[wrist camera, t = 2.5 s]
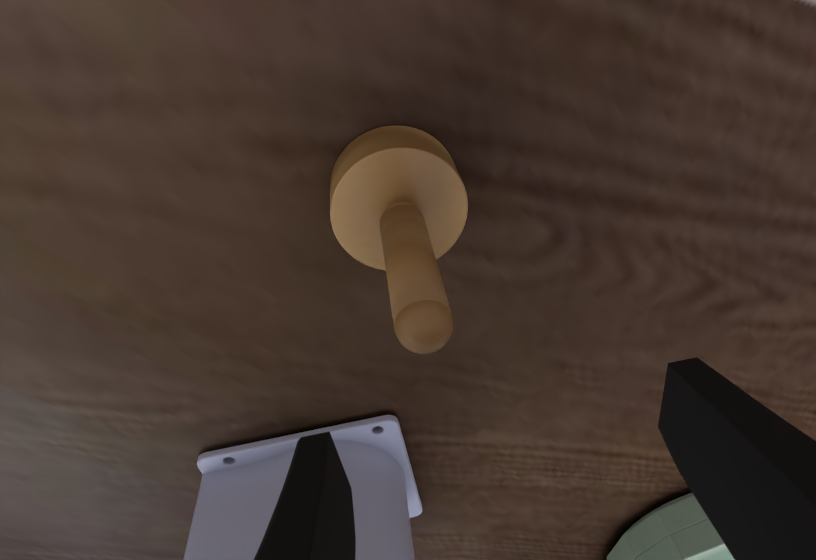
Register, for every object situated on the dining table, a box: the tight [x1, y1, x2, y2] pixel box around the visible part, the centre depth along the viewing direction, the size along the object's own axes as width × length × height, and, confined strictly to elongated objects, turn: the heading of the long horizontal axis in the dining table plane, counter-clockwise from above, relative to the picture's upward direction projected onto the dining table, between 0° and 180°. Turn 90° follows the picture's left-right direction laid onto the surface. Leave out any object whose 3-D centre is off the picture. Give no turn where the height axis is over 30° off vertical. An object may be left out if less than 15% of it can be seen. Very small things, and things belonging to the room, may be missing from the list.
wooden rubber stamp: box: [330, 125, 468, 354], centre depth 16 cm, size 4×4×8 cm
